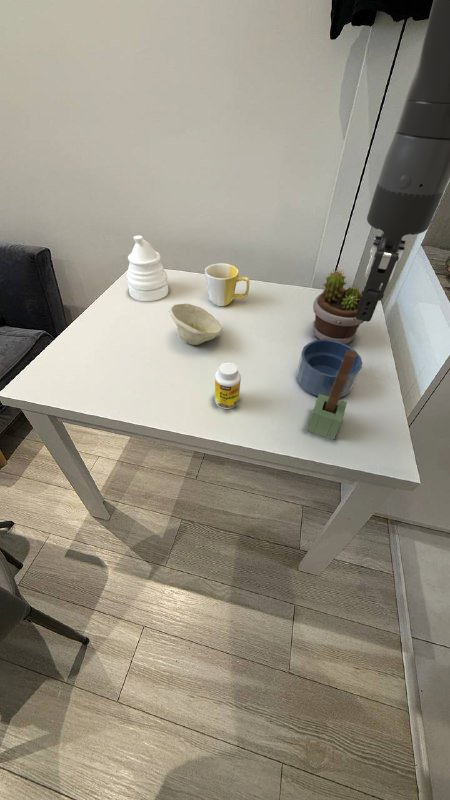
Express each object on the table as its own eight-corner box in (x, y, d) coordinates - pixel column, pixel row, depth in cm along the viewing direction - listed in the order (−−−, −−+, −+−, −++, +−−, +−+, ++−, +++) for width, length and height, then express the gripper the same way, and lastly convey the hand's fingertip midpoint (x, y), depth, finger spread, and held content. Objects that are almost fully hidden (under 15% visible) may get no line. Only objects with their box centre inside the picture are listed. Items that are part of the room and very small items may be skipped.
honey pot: (160, 303, 104) (152, 245, 91) (123, 297, 106) (110, 240, 93) (173, 285, 113) (168, 229, 100) (139, 280, 115) (129, 224, 102)
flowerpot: (361, 329, 98) (387, 263, 83) (352, 358, 88) (380, 289, 74) (313, 317, 102) (330, 251, 87) (300, 343, 92) (316, 275, 77)
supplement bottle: (216, 411, 74) (216, 377, 66) (213, 393, 77) (213, 360, 70) (240, 409, 74) (243, 375, 67) (236, 391, 78) (239, 358, 71)
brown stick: (327, 424, 72) (357, 352, 57) (326, 429, 71) (355, 357, 56) (319, 421, 72) (346, 349, 58) (317, 427, 71) (345, 355, 57)
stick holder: (338, 420, 73) (347, 402, 68) (333, 440, 69) (341, 421, 65) (312, 412, 74) (319, 393, 70) (306, 430, 70) (312, 412, 66)
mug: (200, 306, 104) (200, 275, 96) (211, 291, 111) (211, 261, 103) (242, 314, 101) (244, 282, 94) (250, 299, 108) (253, 268, 100)
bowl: (229, 351, 88) (231, 319, 81) (178, 360, 85) (175, 328, 78) (213, 321, 98) (214, 291, 91) (167, 329, 95) (163, 297, 88)
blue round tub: (355, 372, 84) (365, 349, 79) (346, 408, 75) (357, 384, 70) (303, 357, 88) (309, 334, 82) (289, 389, 79) (295, 366, 74)
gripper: (447, 203, 33) (387, 336, 45) (444, 173, 42) (395, 290, 54) (371, 193, 35) (332, 323, 47) (384, 167, 44) (349, 281, 56)
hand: (366, 305), depth 50 cm, fingers open, 8 cm apart
